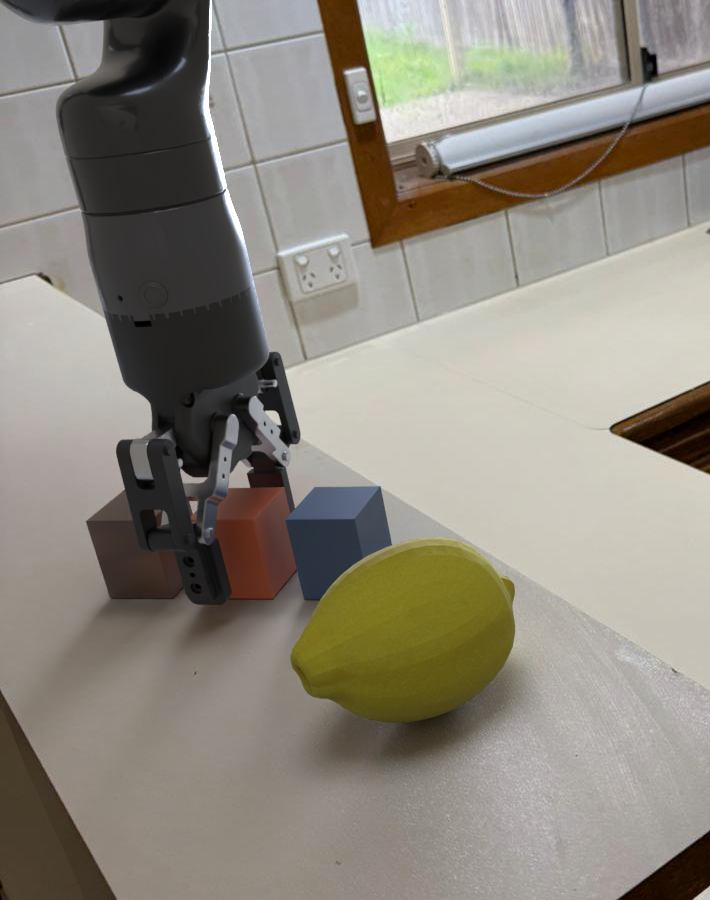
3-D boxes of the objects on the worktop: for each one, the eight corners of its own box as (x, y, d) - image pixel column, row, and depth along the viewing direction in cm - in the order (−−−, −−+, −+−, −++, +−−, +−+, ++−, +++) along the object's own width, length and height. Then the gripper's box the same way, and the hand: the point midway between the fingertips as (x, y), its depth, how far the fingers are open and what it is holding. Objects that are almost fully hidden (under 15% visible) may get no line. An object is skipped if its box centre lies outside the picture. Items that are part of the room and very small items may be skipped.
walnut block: (109, 598, 65) (85, 521, 63) (146, 563, 69) (124, 489, 67) (172, 598, 65) (150, 520, 63) (206, 563, 68) (186, 488, 66)
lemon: (496, 627, 58) (474, 487, 55) (565, 703, 52) (545, 549, 49) (288, 704, 54) (251, 557, 51) (336, 797, 47) (296, 635, 44)
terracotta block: (207, 598, 64) (185, 520, 62) (240, 563, 68) (220, 487, 66) (273, 599, 63) (253, 519, 61) (302, 563, 67) (284, 486, 65)
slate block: (303, 599, 63) (284, 519, 61) (331, 563, 67) (314, 486, 65) (371, 600, 62) (354, 519, 60) (396, 563, 66) (380, 485, 64)
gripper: (181, 254, 66) (243, 505, 72) (27, 334, 53) (120, 630, 59) (302, 248, 64) (355, 504, 71) (173, 328, 51) (252, 632, 58)
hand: (247, 561), depth 65 cm, fingers open, 8 cm apart
